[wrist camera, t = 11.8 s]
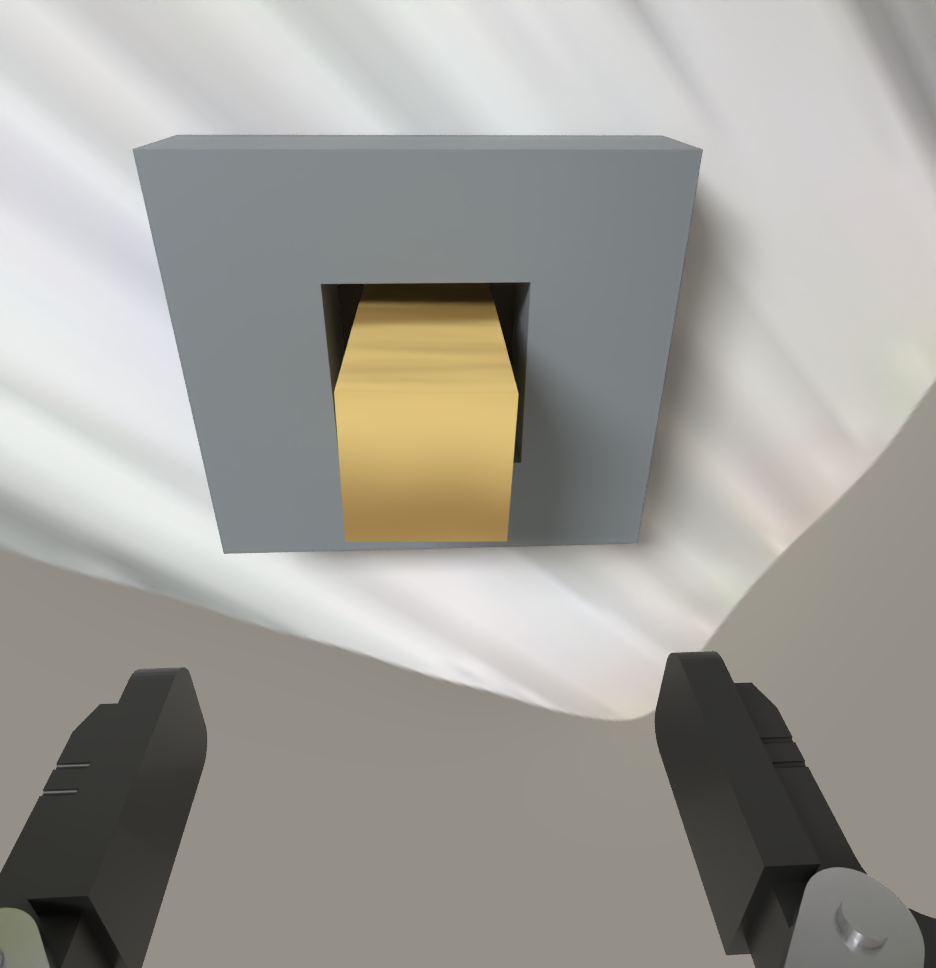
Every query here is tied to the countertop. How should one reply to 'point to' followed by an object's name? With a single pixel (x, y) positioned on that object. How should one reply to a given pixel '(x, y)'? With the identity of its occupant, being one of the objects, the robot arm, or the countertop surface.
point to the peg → (426, 416)
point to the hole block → (420, 259)
